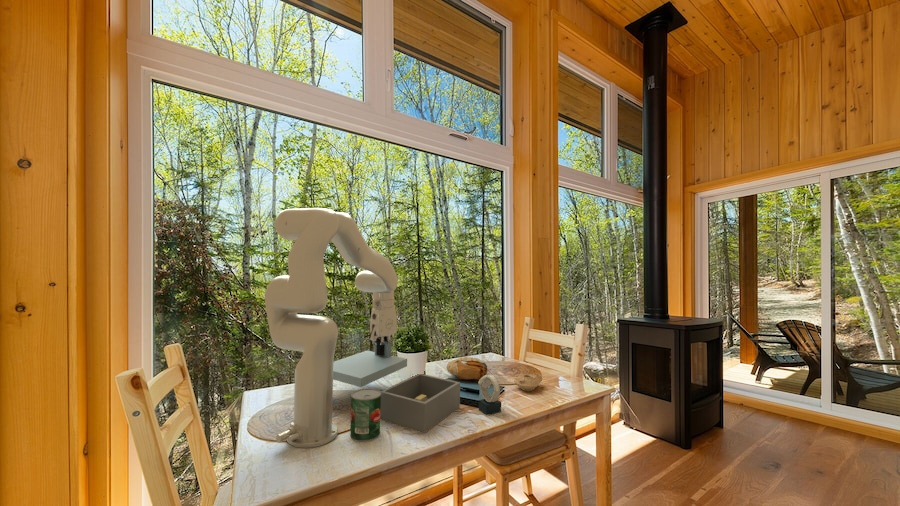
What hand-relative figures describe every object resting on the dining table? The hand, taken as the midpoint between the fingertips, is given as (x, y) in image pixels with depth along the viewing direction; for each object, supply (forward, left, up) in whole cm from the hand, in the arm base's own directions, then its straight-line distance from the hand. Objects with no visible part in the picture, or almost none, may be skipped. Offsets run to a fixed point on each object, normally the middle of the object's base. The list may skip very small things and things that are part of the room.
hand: (382, 354), depth 132 cm
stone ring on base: (+3, -41, -12) cm, 43 cm away
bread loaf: (+25, -24, -12) cm, 37 cm away
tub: (-10, -24, -12) cm, 29 cm away
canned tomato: (-29, -19, -12) cm, 37 cm away
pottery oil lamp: (+29, -46, -12) cm, 56 cm away
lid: (-9, 0, -4) cm, 10 cm away
